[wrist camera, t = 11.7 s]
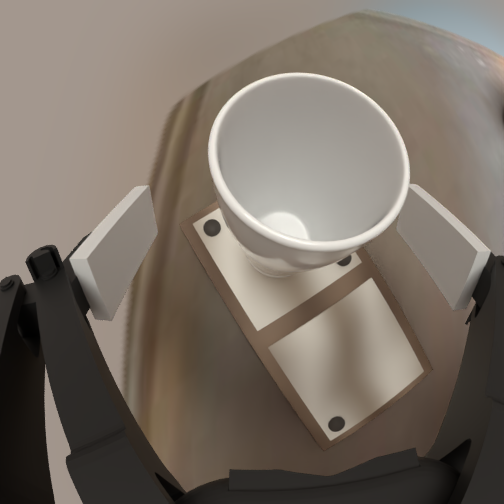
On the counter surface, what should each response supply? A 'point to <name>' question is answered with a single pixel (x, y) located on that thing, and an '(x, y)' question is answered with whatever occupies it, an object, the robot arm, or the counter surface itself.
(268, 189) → the white cup
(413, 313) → the counter surface
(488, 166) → the counter surface
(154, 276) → the counter surface
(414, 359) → the coaster board
